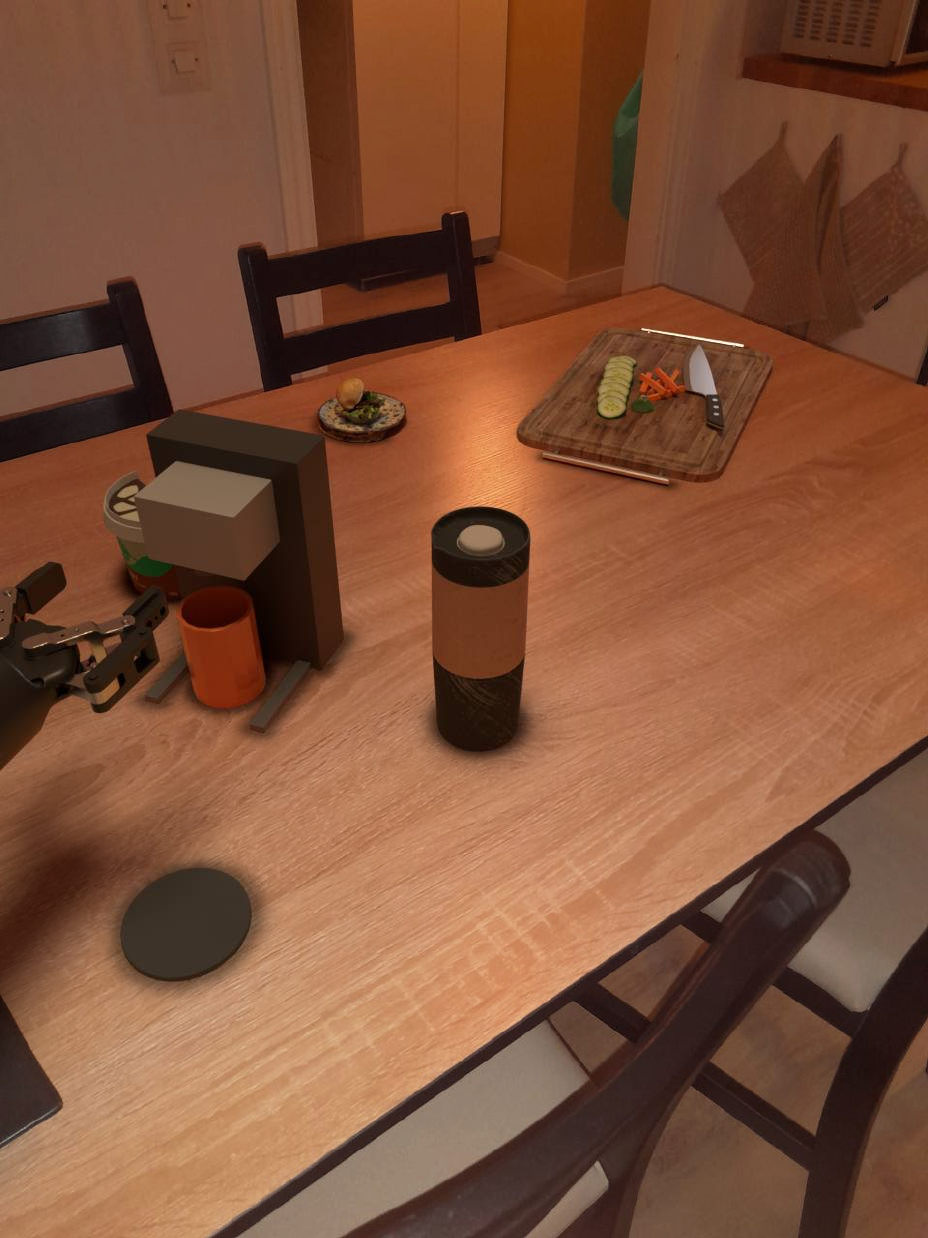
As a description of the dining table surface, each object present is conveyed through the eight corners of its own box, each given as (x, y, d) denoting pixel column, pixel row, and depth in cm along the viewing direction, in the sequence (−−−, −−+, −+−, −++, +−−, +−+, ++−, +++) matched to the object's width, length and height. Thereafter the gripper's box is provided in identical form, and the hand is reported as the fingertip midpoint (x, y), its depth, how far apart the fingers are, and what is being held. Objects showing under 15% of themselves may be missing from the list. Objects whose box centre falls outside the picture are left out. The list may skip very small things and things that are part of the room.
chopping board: (608, 327, 155) (610, 308, 153) (778, 356, 147) (782, 336, 145) (502, 451, 123) (502, 429, 121) (710, 497, 115) (715, 474, 113)
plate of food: (395, 447, 124) (392, 393, 119) (306, 439, 125) (300, 385, 121) (415, 406, 133) (414, 354, 128) (332, 399, 135) (328, 347, 130)
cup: (179, 693, 88) (160, 616, 82) (226, 654, 92) (211, 577, 86) (234, 718, 85) (218, 640, 79) (280, 676, 89) (268, 599, 84)
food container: (100, 570, 102) (77, 488, 96) (153, 548, 106) (134, 468, 99) (155, 625, 95) (134, 540, 89) (211, 599, 99) (194, 516, 92)
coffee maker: (136, 699, 87) (76, 486, 73) (218, 609, 97) (178, 408, 84) (274, 737, 83) (238, 521, 70) (344, 639, 94) (325, 435, 80)
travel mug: (537, 715, 86) (551, 524, 73) (490, 768, 81) (496, 573, 68) (465, 682, 89) (467, 494, 76) (416, 731, 84) (409, 538, 72)
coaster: (94, 945, 67) (92, 940, 67) (183, 854, 74) (182, 849, 73) (192, 1005, 64) (190, 1000, 64) (277, 904, 70) (276, 899, 70)
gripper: (21, 719, 52) (187, 559, 64) (-180, 662, 56) (12, 520, 68) (58, 812, 57) (206, 646, 69) (-131, 753, 60) (41, 605, 72)
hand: (109, 584), depth 68 cm, fingers open, 8 cm apart
